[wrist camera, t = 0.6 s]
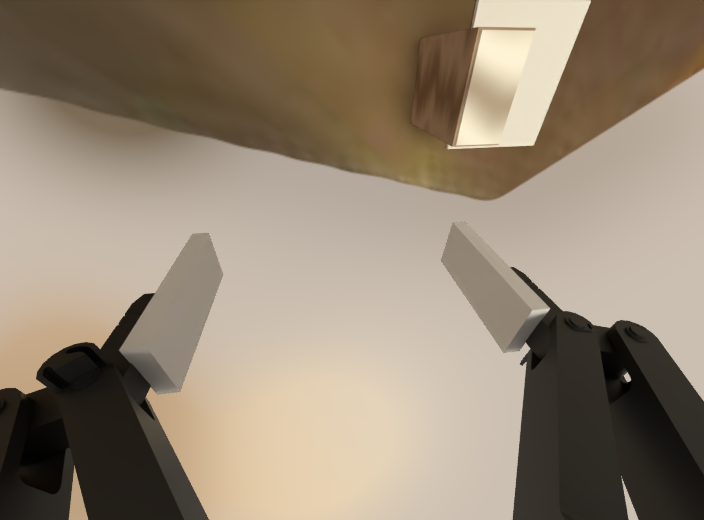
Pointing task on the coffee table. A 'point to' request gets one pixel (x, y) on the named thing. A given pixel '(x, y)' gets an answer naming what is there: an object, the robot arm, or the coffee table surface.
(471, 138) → the wooden block
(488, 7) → the felt mat
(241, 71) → the coffee table surface
